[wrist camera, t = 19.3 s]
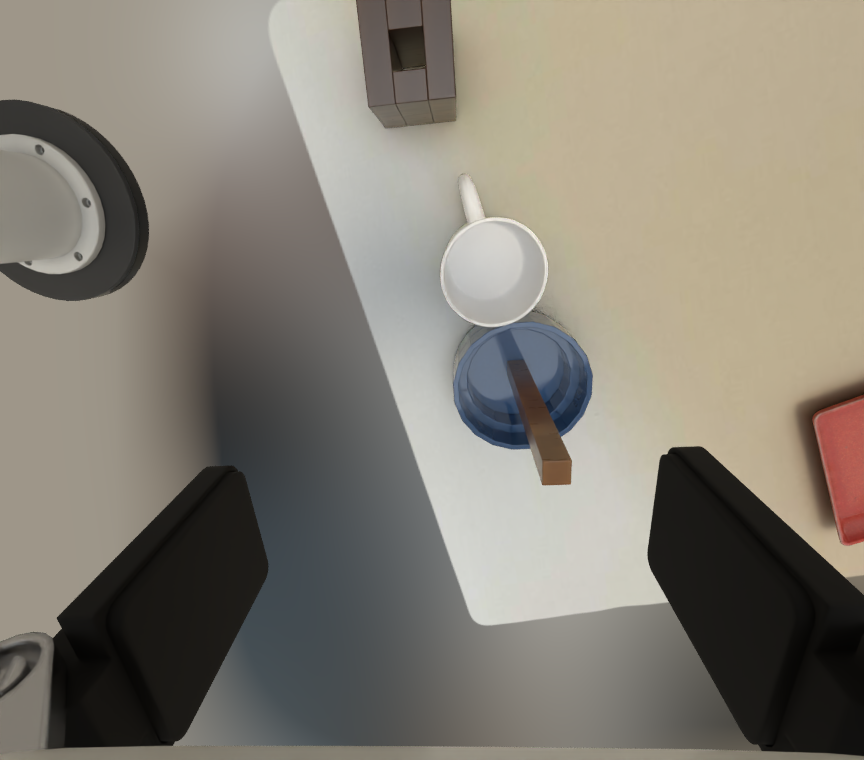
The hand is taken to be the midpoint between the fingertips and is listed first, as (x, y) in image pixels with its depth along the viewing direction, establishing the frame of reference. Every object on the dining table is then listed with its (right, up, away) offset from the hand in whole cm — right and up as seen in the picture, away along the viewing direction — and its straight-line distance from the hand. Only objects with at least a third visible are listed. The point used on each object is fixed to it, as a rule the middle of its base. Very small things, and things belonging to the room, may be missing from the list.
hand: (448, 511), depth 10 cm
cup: (+4, +16, +32) cm, 36 cm away
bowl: (+9, +4, +36) cm, 38 cm away
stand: (-2, +29, +28) cm, 40 cm away
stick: (+9, +4, +36) cm, 37 cm away
